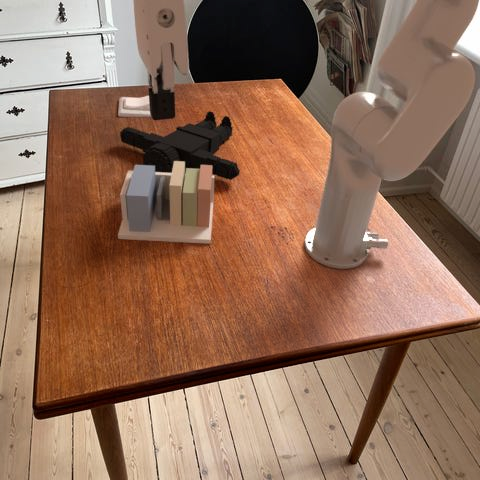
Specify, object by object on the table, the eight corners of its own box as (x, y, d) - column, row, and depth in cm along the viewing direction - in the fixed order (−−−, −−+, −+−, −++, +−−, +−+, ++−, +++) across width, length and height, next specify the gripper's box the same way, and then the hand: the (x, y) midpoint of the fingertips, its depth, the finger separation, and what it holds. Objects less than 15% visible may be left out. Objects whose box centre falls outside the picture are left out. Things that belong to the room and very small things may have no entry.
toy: (275, 131, 125) (217, 175, 103) (271, 158, 130) (214, 206, 107) (167, 98, 136) (92, 131, 113) (166, 124, 140) (94, 162, 118)
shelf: (213, 202, 109) (215, 160, 102) (210, 243, 98) (212, 199, 91) (130, 198, 108) (126, 155, 101) (118, 238, 97) (113, 194, 90)
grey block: (156, 200, 106) (154, 165, 101) (150, 232, 98) (148, 196, 92) (137, 199, 106) (135, 164, 101) (129, 231, 97) (126, 195, 92)
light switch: (165, 107, 138) (117, 104, 135) (164, 121, 140) (118, 118, 138) (164, 91, 146) (119, 88, 143) (163, 104, 148) (119, 102, 146)
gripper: (204, -15, 53) (203, 139, 65) (171, -44, 64) (176, 92, 76) (134, -13, 51) (146, 146, 63) (112, -43, 62) (126, 97, 73)
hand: (162, 116), depth 69 cm, fingers closed
